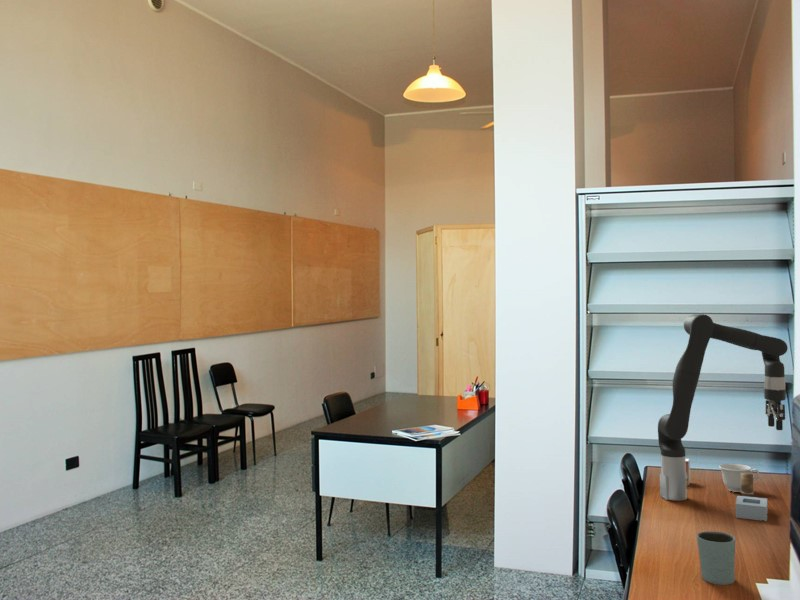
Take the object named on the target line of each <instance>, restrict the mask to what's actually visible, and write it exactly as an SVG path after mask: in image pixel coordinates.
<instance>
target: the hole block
mask: <svg viewBox="0 0 800 600" xmlns="http://www.w3.org/2000/svg"><path fill="white" fill-rule="evenodd" d="M768 506H769V505H768V497H767V498H766V497H756V496H753V497H747V496H742V495H737V496H736V499H735V518H736V519H744V520H755V521H762V520H764V521H763V522H767V521H768V515H767V514H768V513H769V512H768V511H769V510H768Z"/></svg>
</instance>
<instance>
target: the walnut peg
mask: <svg viewBox="0 0 800 600" xmlns="http://www.w3.org/2000/svg"><path fill="white" fill-rule="evenodd" d="M753 478H754V474H753V473H741V493H740V494H741V496H747V497H754V480H753Z"/></svg>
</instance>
